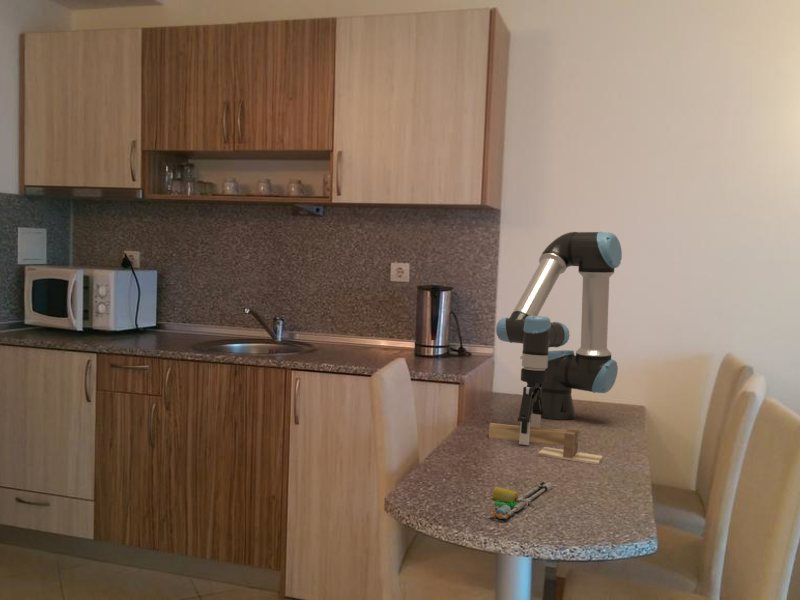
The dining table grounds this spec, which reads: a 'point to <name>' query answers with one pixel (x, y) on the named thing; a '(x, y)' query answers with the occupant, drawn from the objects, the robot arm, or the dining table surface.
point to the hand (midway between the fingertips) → (529, 440)
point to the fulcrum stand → (571, 450)
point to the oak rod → (535, 434)
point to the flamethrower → (515, 500)
